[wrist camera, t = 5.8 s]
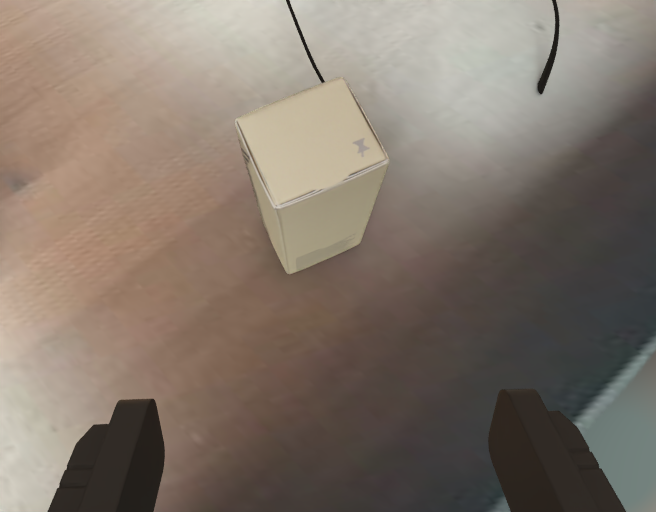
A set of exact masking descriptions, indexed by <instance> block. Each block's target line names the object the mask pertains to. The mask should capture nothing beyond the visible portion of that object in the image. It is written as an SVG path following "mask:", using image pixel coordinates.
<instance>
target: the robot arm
mask: <svg viewBox="0 0 656 512" xmlns="http://www.w3.org/2000/svg"><path fill="white" fill-rule="evenodd" d="M488 442H489V452H490V457H491V460H492V463H493V466H494V468H495V471H496V474H497V476H498V479H499V482H500V484H501V487H502V489H503V492H504V495H505V497H506V500H507V503H508V505H509V508H510V511H511V512H626V511H625V509H624V507H623V505H622V504H621V502H620V500H619V499H618V497H617V495H616V493H615V492H614V490H613V488H612V487H611V485H610V483H609V481H608V479H607V478H606V476H605V474H604V473H603V471H602V469H600V468H599V464H598V462H597V460H596V459H595V457H594V455H593V453H592V452H590V451H589V447H588V445H587V443H586V442H585V440H584V438H583V436H582V434H581V433H580V431H579V429H578V428H577V427H576V426H575V425H574V424H573V423H572V422H571V421H570V420H569V419H567V418H566V417H565V416H564V415H563V414H562V413H561V412H560V411H548V410H547V409H546V407H545V405H544V403H543V401H542V399H541V397H540V395H539V394H538V392H537V391H536V390H535V389H506V390H501V391H500V392H499V394H498V398H497V402H496V406H495V410H494V415H493V419H492V423H491V427H490V431H489V440H488ZM164 457H165V449H164V441H163V436H162V431H161V426H160V421H159V416H158V411H157V406H156V402H155V400H154V399H133V400H119V401H118V403H117V405H116V407H115V410H114V412H113V415H112V418H111V420H110V423H109V424H100V425H93V426H92V427H91V428H90V429H89V430H88V431H87V433H86V434H85V435H84V436H83V437H82V438H81V439H80V440H79V441H78V442H77V444H76V445H75V448H74V450H73V453H72V455H71V457H70V460H69V462H68V465H67V470H65V472H64V474H63V476H62V479H61V481H60V486H59V488H57V491H56V493H55V495H54V498H53V500H52V503H51V505H50V507H49V510H48V512H153V511H154V507H155V503H156V498H157V494H158V490H159V486H160V482H161V477H162V473H163V468H164Z"/></svg>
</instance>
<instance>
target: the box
mask: <svg viewBox="0 0 656 512" xmlns="http://www.w3.org/2000/svg"><path fill="white" fill-rule="evenodd" d="M235 126H236V130H237V134H238V138H239V142H240V146H241V150H242V153H243V157H244V160H245V164H246V167H247V170H248V174H249V176H250V180H251V184H252V187H253V191H254V194H255V198H256V202H257V205H258V209H259V212H260V216H261V219H262V221H263V224H264V226H265V229H266V231H267V233H268V236H269V238H270V240H271V242H272V245H273V247H274V249H275V251H276V253H277V255H278V257H279V259H280V261H281V263H282V265H283V267H284V269H285V271H286V273H288V274H292V273H295V272H298V271H300V270H303V269H305V268H308V267H310V266H312V265H315V264H317V263H319V262H322V261H324V260H326V259H328V258H331V257H333V256H335V255H337V254H339V253H341V252H344V251H346V250H348V249H350V248H352V247H354V246H356V245H358V244H360V242H361V240H362V237H363V234H364V231H365V228H366V226H367V223H368V220H369V218H370V215H371V212H372V209H373V206H374V203H375V201H376V198H377V195H378V192H379V190H380V187H381V184H382V181H383V179H384V176H385V173H386V171H387V168H388V165H389V158H388V155H387V153H386V152H385V150H384V148H383V146H382V144H381V142H380V140H379V138H378V137H377V135H376V133H375V131H374V129H373V127H372V125H371V123H370V122H369V120H368V118H367V116H366V114H365V112H364V110H363V109H362V107H361V105H360V104H359V102H358V100H357V98H356V96H355V95H354V93H353V91H352V90H351V88H350V86H349V84H348V83H347V81H346V80H345V79H344V78H343V77H339V78H335V79H333V80H330V81H327V82H324V83H322V84H319V85H316V86H314V87H311V88H308V89H306V90H303V91H301V92H298V93H296V94H293V95H290V96H288V97H285V98H283V99H280V100H278V101H275V102H273V103H271V104H268V105H266V106H263V107H261V108H259V109H256V110H254V111H252V112H250V113H247V114H245V115H243V116H240V117H238V118H237V119H235Z"/></svg>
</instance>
